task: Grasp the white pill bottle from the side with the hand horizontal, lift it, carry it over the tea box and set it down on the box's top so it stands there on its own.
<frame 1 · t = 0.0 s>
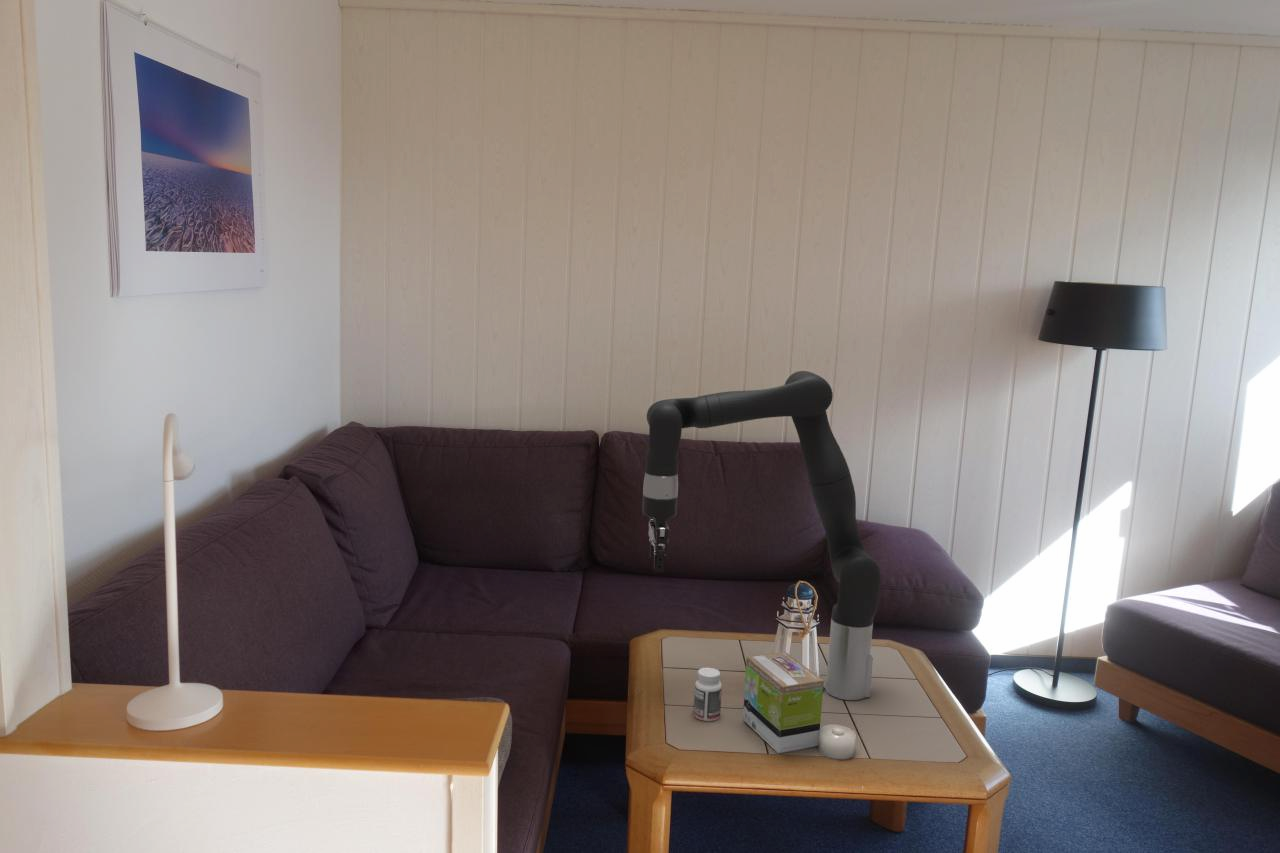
hand: (656, 565, 217), 29 cm above the table, tool pointing down, fingers open, 8 cm apart
pill bottle: (706, 716, 211), on the table
tea box: (779, 735, 205), on the table
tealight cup: (836, 751, 199), on the table
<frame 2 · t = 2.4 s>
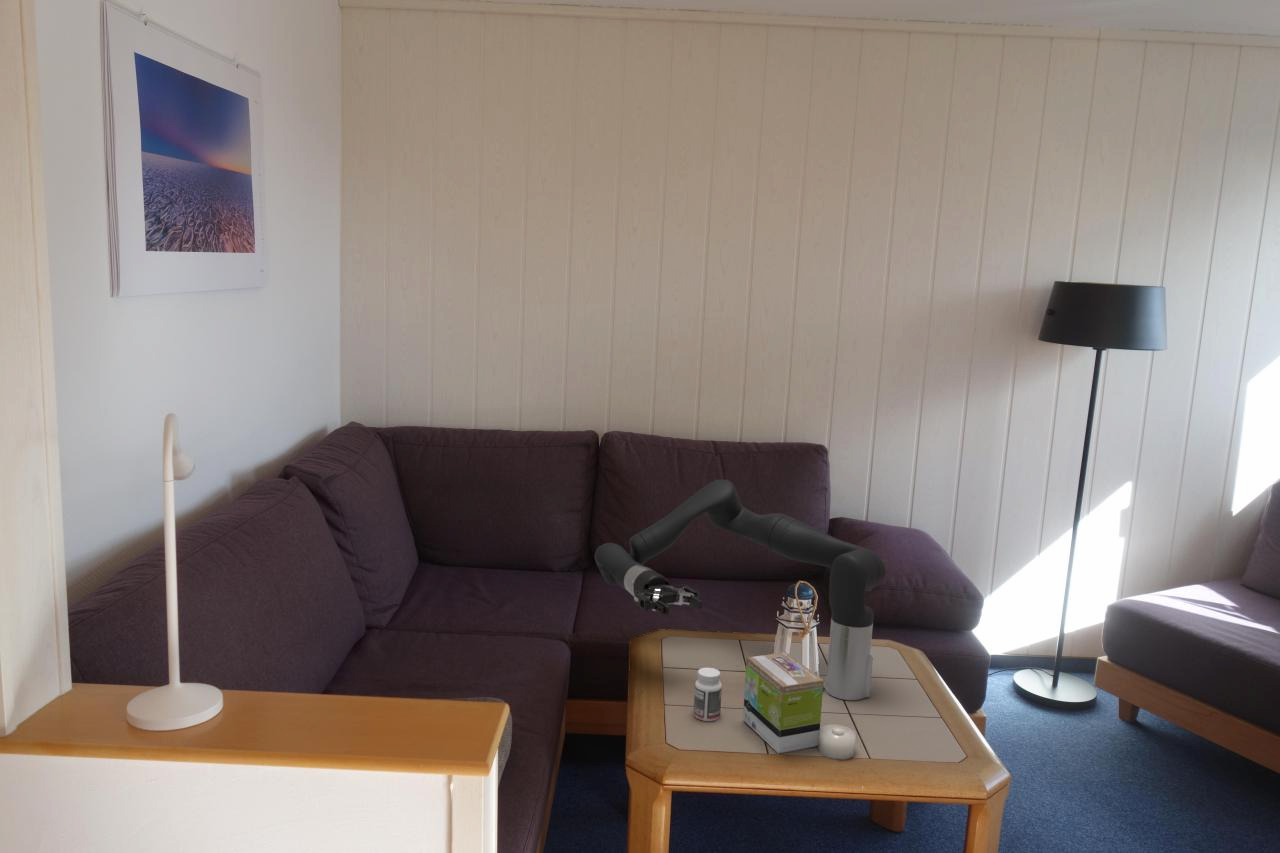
hand: (683, 608, 217), 20 cm above the table, tool horizontal, fingers open, 8 cm apart
nothing on the table moved.
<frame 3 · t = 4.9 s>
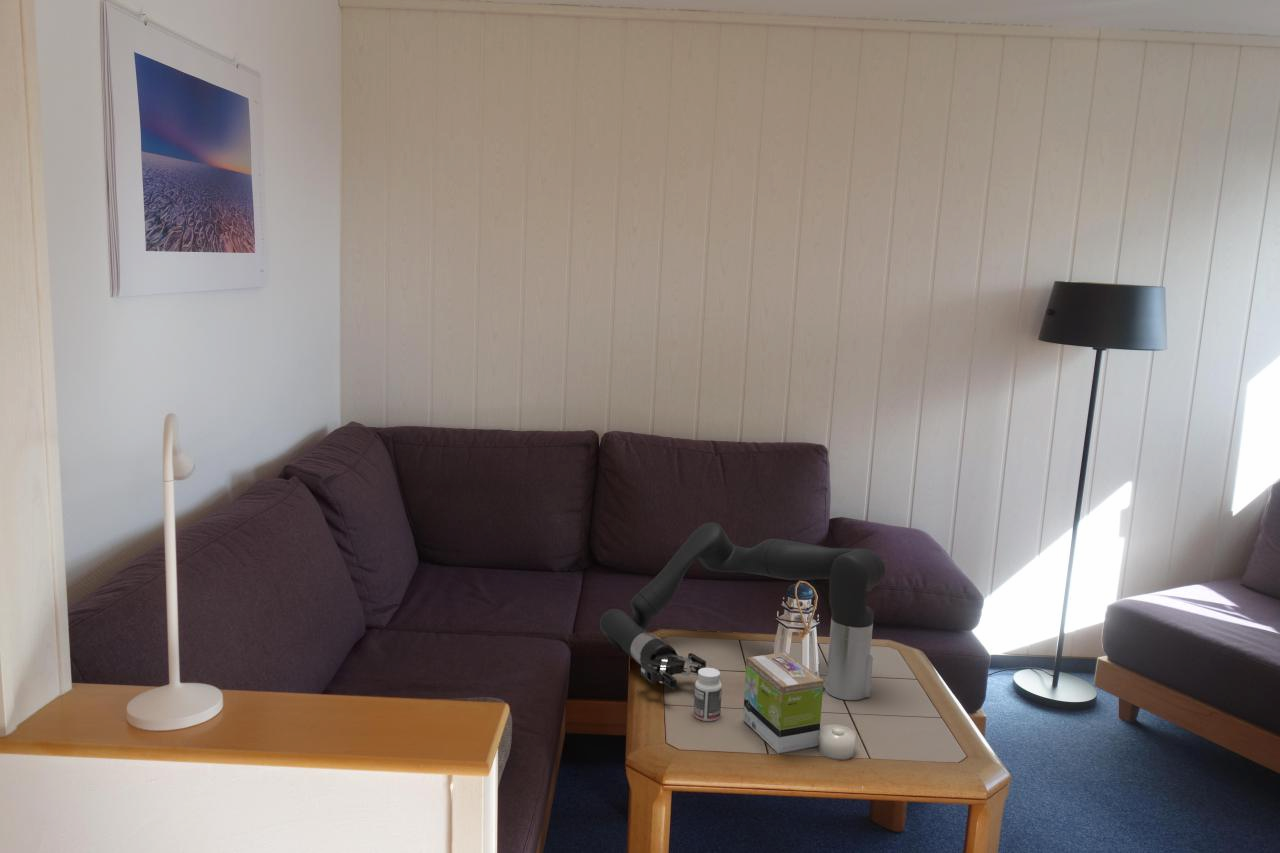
hand: (691, 680, 215), 5 cm above the table, tool horizontal, fingers open, 8 cm apart
nothing on the table moved.
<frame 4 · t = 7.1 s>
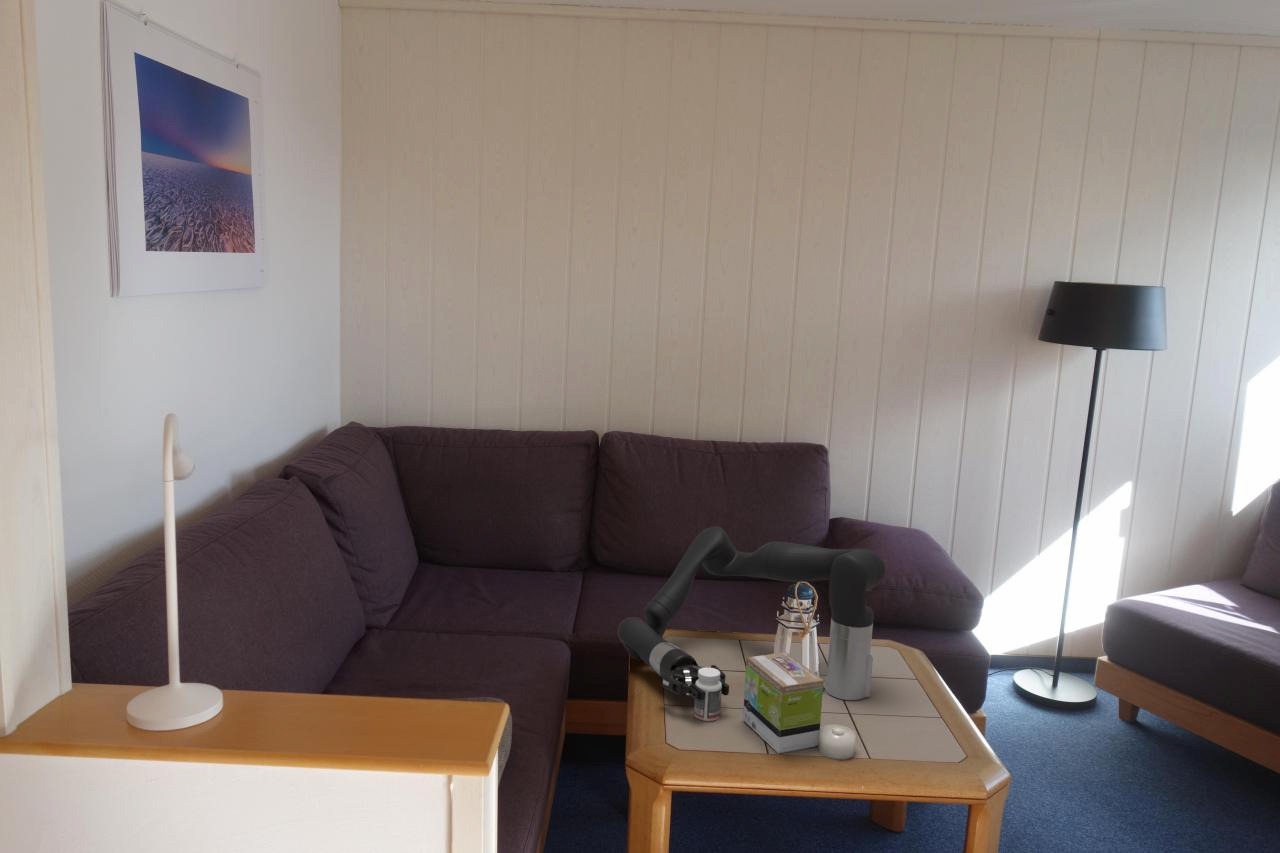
hand: (714, 693, 208), 6 cm above the table, tool horizontal, fingers closed on pill bottle, 5 cm apart
pill bottle: (706, 716, 211), on the table, touching gripper
everything else where it was.
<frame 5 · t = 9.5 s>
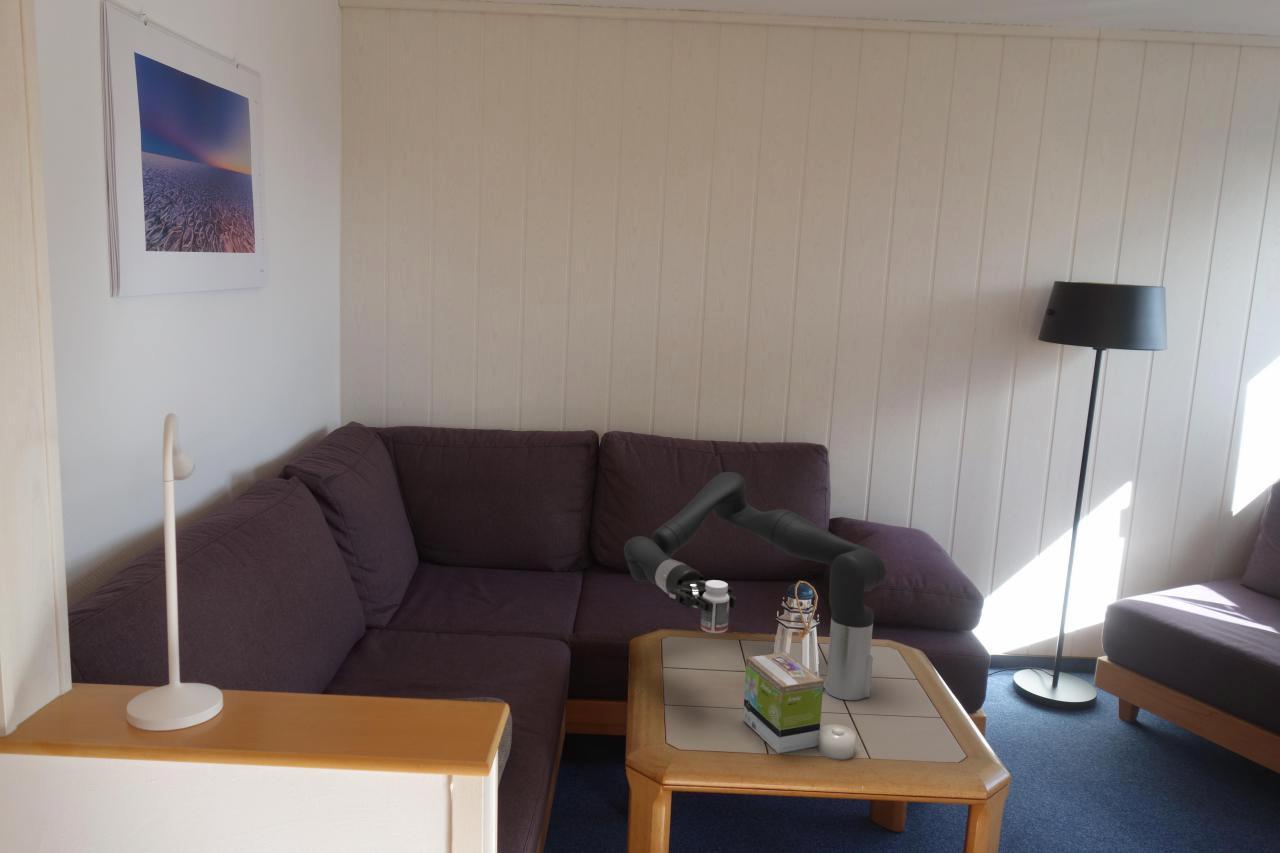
hand: (722, 605, 205), 26 cm above the table, tool horizontal, fingers closed on pill bottle, 5 cm apart
pill bottle: (713, 629, 208), point 19 cm above the table, touching gripper
everything else where it was.
when the fingers open (22 cm above the table, at t = 11.9 s): pill bottle stays where it is, resting on tea box.
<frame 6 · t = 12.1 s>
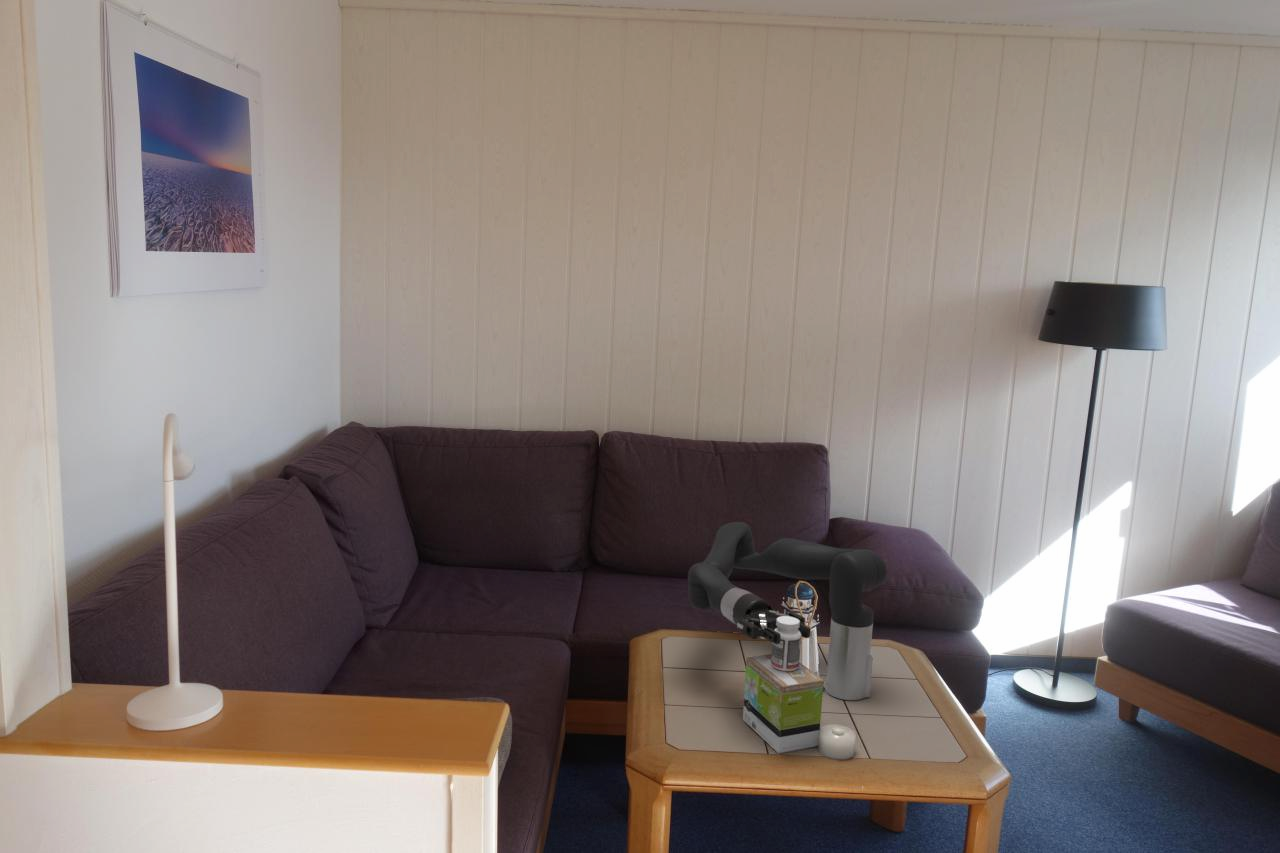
hand: (793, 636, 199), 22 cm above the table, tool horizontal, fingers open, 7 cm apart
pill bottle: (784, 667, 202), point 15 cm above the table, touching tea box
tea box: (779, 734, 205), on the table, touching pill bottle
everything else where it was.
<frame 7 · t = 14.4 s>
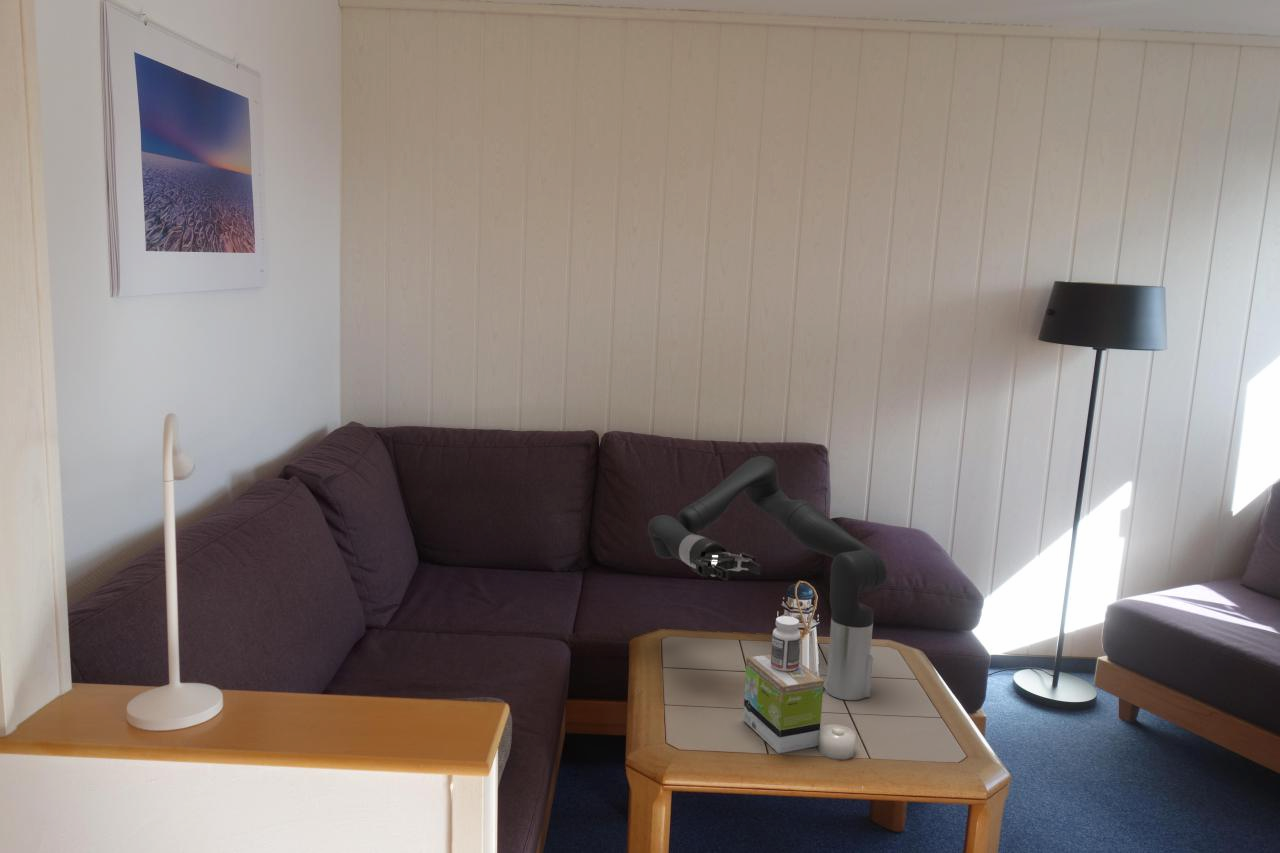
hand: (743, 572, 213), 30 cm above the table, tool horizontal, fingers open, 8 cm apart
nothing on the table moved.
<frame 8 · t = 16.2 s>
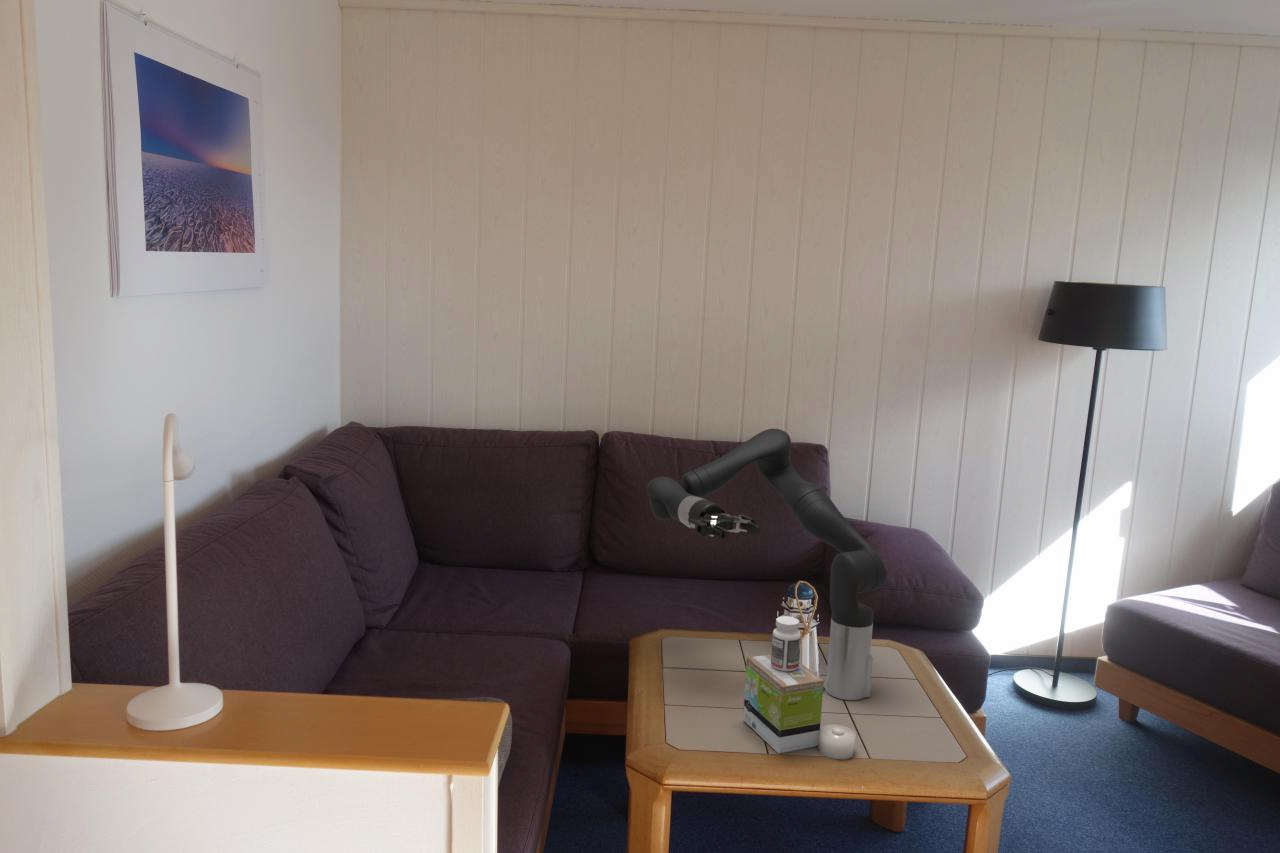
hand: (742, 533, 214), 38 cm above the table, tool horizontal, fingers open, 8 cm apart
nothing on the table moved.
at the end: pill bottle inside the target area on the tea box (0.1 cm from its centre), point 14.8 cm above the tea box's base; pill bottle tilted 0°; the gripper is holding nothing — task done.
